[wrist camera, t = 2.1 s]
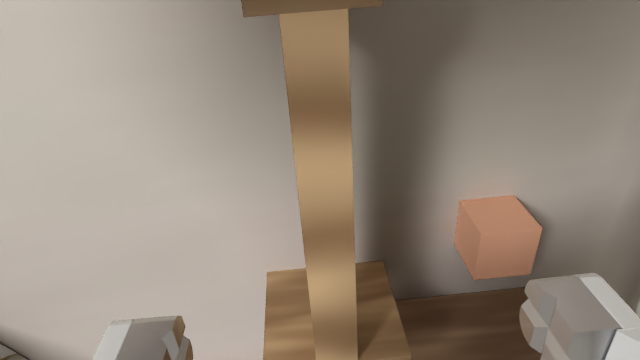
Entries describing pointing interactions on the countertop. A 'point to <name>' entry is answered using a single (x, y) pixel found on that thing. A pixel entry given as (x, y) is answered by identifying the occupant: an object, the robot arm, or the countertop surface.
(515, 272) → the cube
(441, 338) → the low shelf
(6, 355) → the coffee box
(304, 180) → the wooden bridge block
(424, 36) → the countertop surface
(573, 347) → the robot arm
